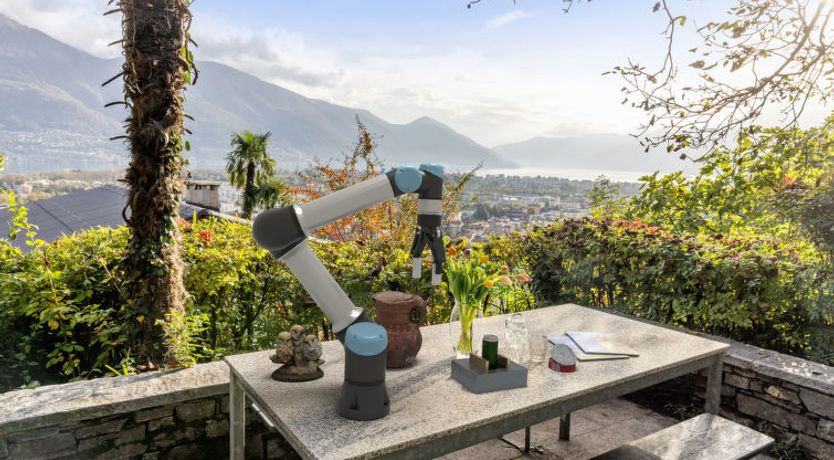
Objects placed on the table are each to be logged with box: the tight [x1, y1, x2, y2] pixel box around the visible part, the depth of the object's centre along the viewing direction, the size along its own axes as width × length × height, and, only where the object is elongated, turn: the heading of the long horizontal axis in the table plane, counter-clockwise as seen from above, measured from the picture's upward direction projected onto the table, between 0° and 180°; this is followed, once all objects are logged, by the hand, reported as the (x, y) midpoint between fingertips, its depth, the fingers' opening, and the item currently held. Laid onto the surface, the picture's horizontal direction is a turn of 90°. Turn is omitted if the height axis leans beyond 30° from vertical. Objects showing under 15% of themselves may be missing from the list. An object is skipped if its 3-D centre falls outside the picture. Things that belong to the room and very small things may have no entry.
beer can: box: [480, 333, 499, 370], centre depth 167 cm, size 5×5×12 cm
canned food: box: [547, 343, 578, 374], centre depth 185 cm, size 11×10×10 cm
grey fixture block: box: [450, 351, 529, 395], centre depth 168 cm, size 23×18×9 cm
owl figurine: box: [268, 324, 326, 383], centre depth 163 cm, size 18×12×17 cm, turn 108°
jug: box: [371, 290, 428, 368], centre depth 182 cm, size 22×21×25 cm
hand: (425, 281), depth 155 cm, fingers open, 13 cm apart
